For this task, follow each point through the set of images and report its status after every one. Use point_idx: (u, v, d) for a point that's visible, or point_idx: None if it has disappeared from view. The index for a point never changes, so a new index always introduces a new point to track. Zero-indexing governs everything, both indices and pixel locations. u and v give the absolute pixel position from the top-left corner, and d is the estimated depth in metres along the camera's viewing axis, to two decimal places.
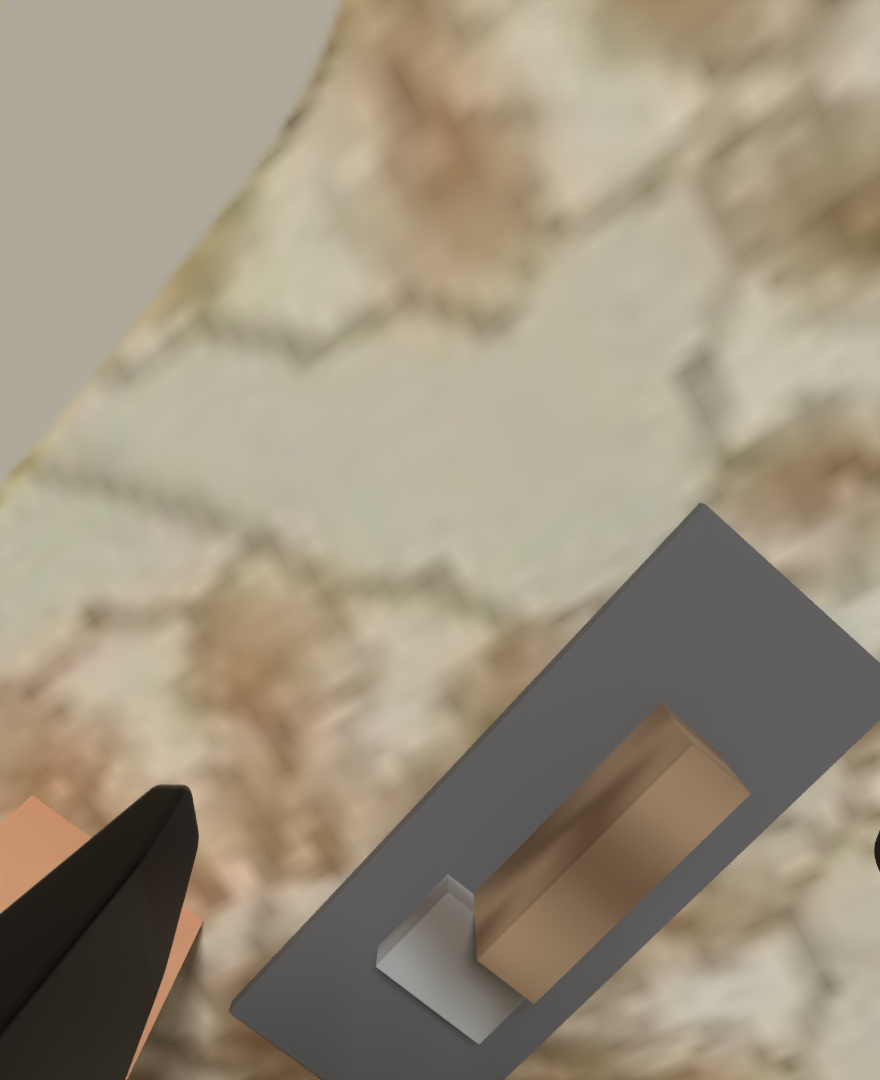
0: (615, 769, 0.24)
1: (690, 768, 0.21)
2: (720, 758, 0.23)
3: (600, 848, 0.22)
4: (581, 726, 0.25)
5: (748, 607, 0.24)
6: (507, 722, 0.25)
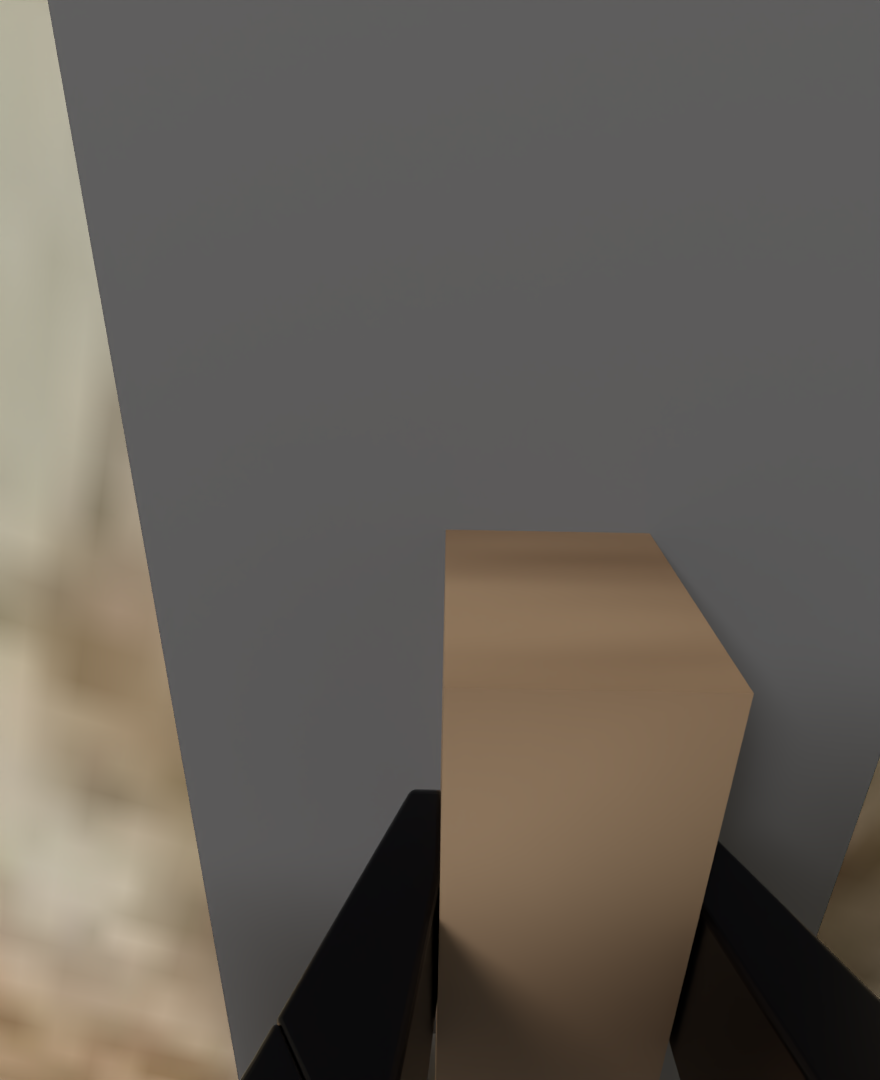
0: (441, 756, 0.09)
1: (502, 748, 0.06)
2: (656, 581, 0.07)
3: (464, 1028, 0.07)
4: (333, 694, 0.10)
5: (438, 108, 0.07)
6: (199, 780, 0.10)
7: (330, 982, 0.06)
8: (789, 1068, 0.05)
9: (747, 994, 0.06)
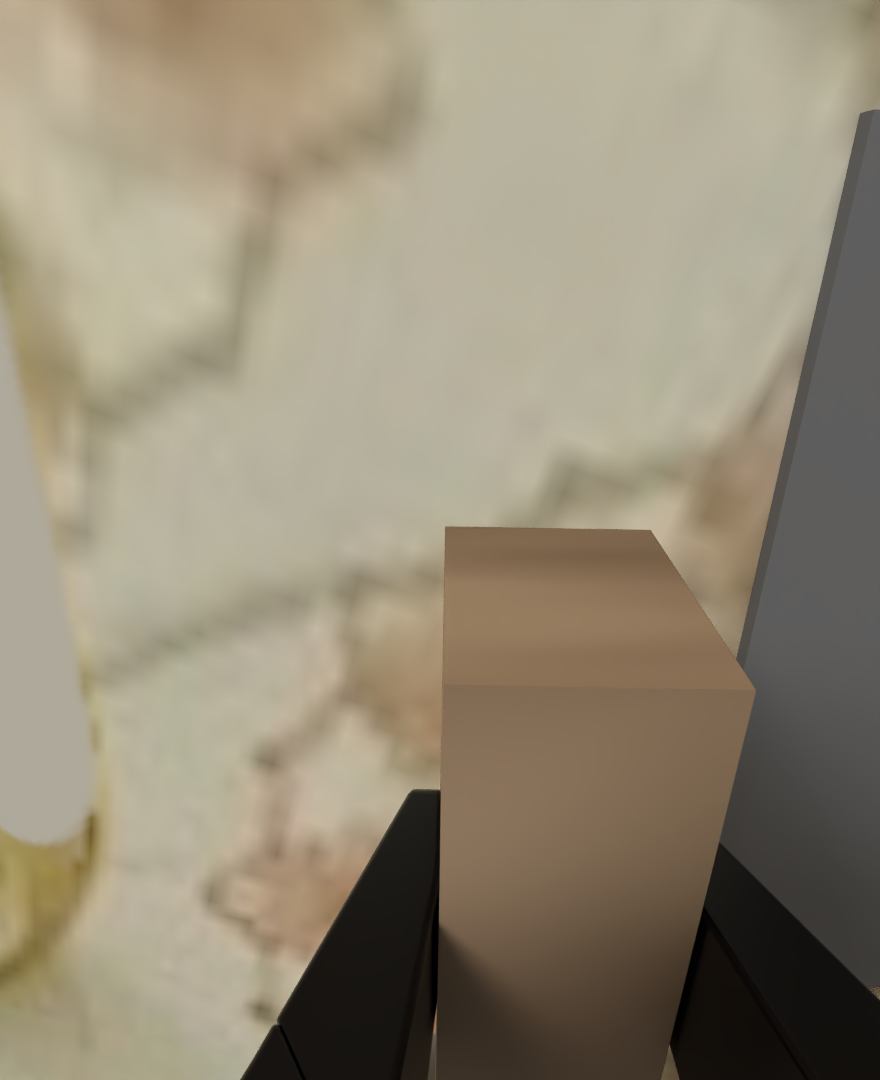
0: None
1: (502, 745, 0.06)
2: (657, 577, 0.07)
3: (464, 1028, 0.07)
4: (872, 519, 0.17)
5: None
6: (772, 576, 0.18)
7: (330, 982, 0.06)
8: (789, 1068, 0.05)
9: (747, 994, 0.06)
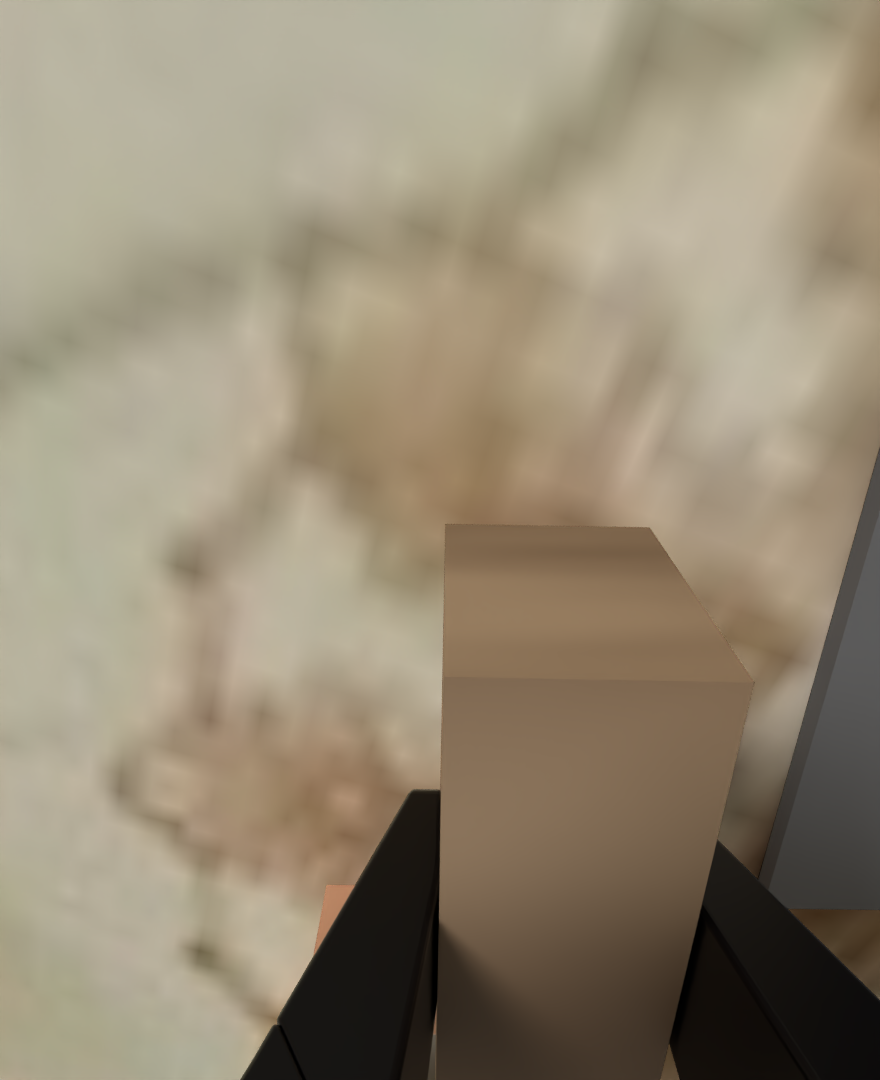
0: None
1: (501, 738, 0.06)
2: (656, 573, 0.07)
3: (463, 1024, 0.07)
4: None
5: None
6: None
7: (330, 982, 0.06)
8: (789, 1068, 0.05)
9: (747, 994, 0.06)
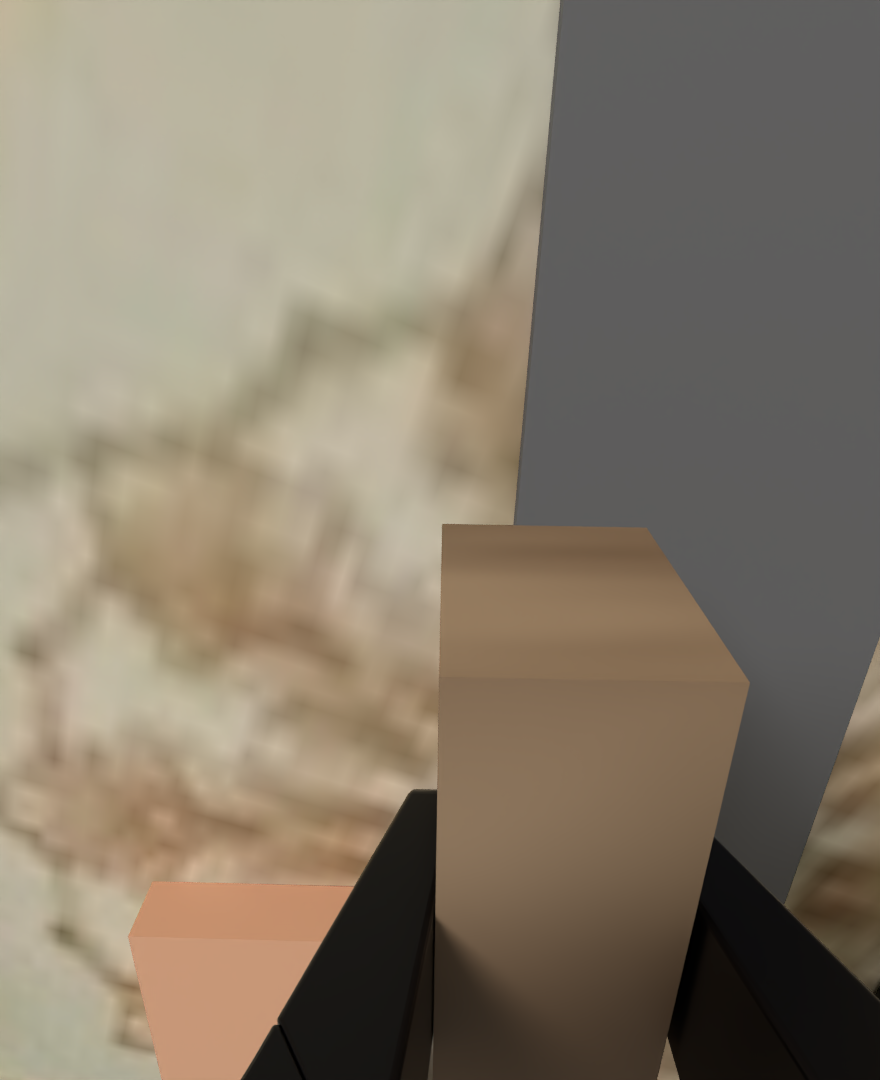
0: None
1: (498, 738, 0.06)
2: (652, 573, 0.07)
3: (460, 1024, 0.07)
4: (628, 379, 0.16)
5: (757, 6, 0.13)
6: (531, 444, 0.17)
7: (330, 982, 0.06)
8: (788, 1068, 0.05)
9: (747, 994, 0.06)
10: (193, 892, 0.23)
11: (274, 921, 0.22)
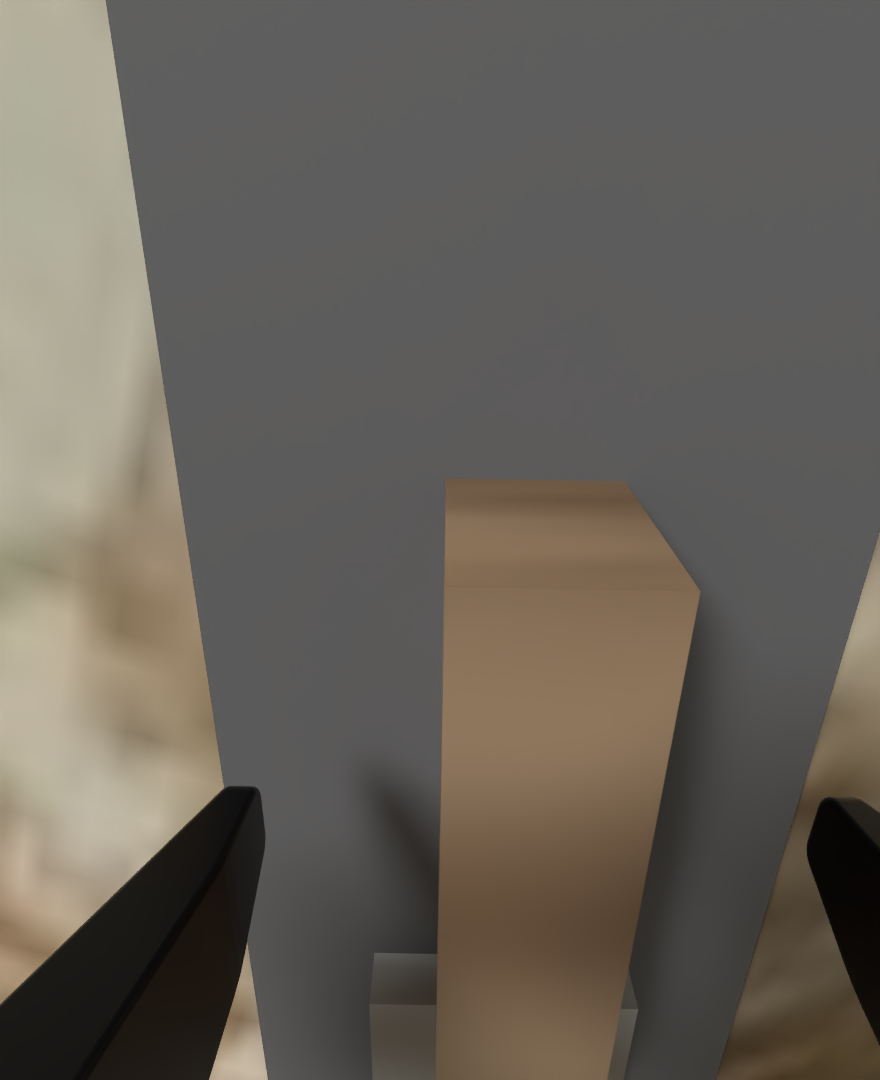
0: None
1: (493, 641, 0.07)
2: (627, 515, 0.09)
3: (462, 902, 0.09)
4: (346, 639, 0.11)
5: (438, 125, 0.08)
6: (226, 719, 0.12)
7: (60, 976, 0.06)
8: None
9: None
10: None
11: None
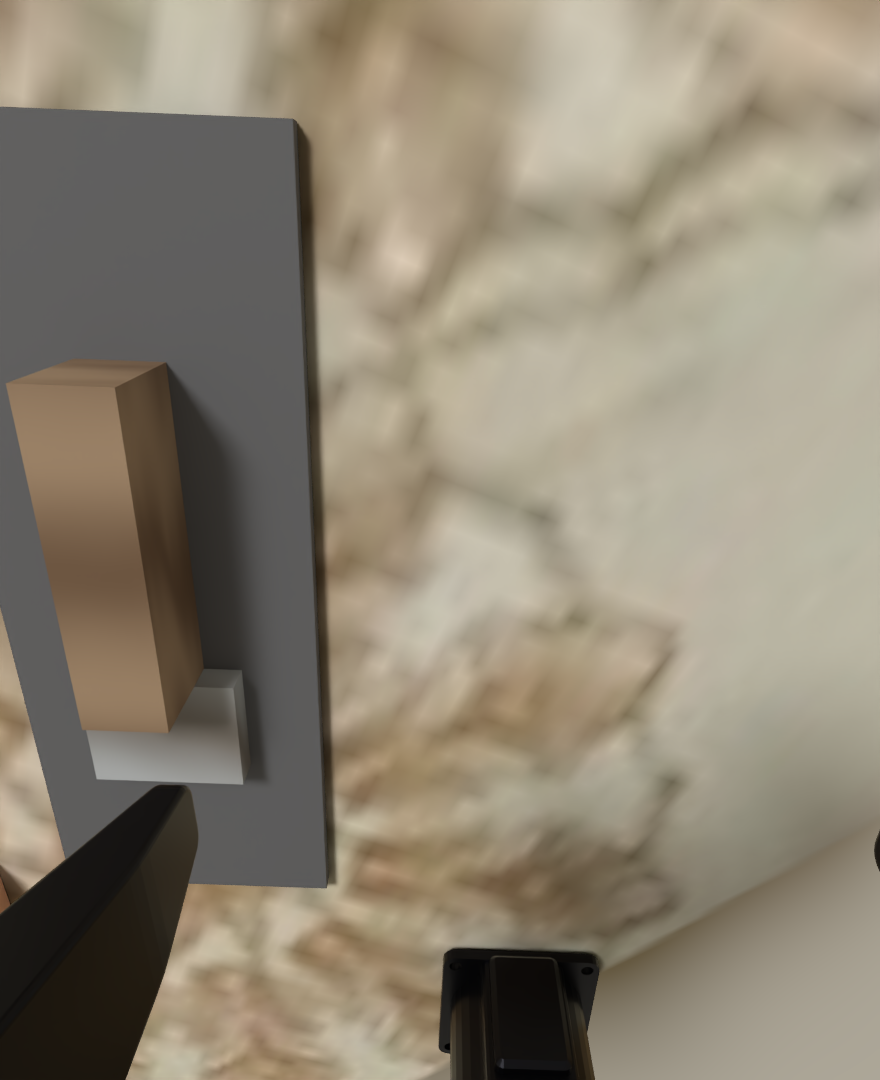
0: None
1: (32, 410, 0.16)
2: (137, 370, 0.18)
3: (55, 557, 0.18)
4: None
5: (35, 182, 0.17)
6: None
7: None
8: None
9: None
10: None
11: None
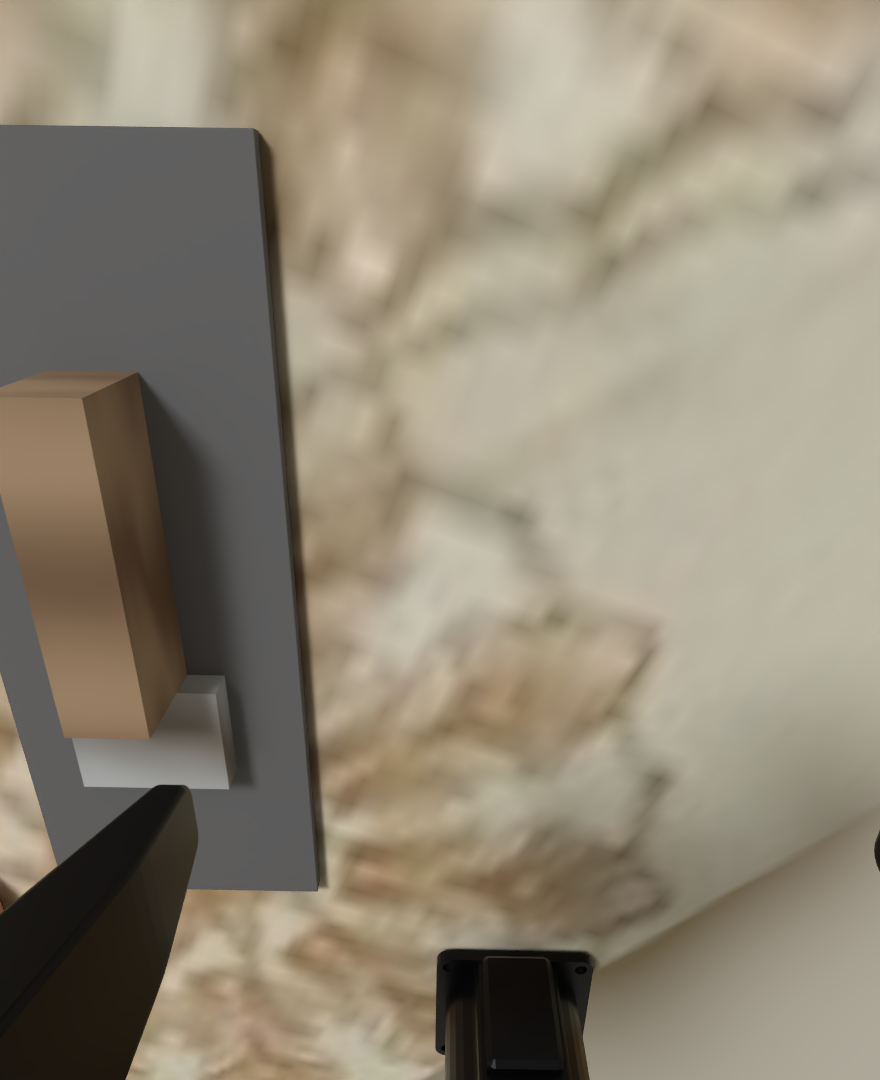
0: None
1: (2, 422, 0.16)
2: (107, 381, 0.18)
3: (30, 567, 0.18)
4: None
5: (2, 197, 0.17)
6: None
7: None
8: None
9: None
10: None
11: None
